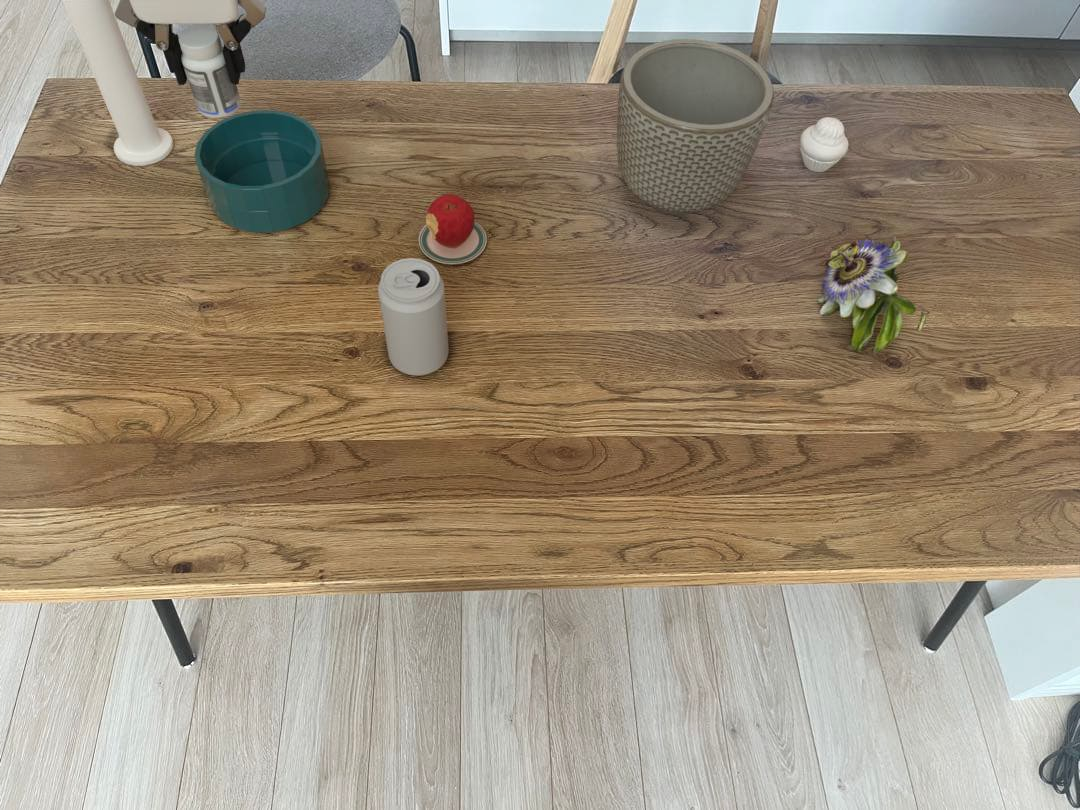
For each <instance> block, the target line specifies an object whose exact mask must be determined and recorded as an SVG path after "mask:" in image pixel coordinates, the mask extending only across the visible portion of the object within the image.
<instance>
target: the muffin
mask: <svg viewBox="0 0 1080 810" xmlns="http://www.w3.org/2000/svg"><path fill="white" fill-rule="evenodd" d="M799 148H800V149H799V150H800V155H801V158H802V161H803V164H804V166H805V168H806V169H808V170H809V171H810V172H814V173H823V172H826V171H828V170H829V169H831V168H832V167H833V166H834V165H836V164H837V163H838V162H839V161H840V160H841V159H842V158H843V157H844V156H845V155H846V154H847V152H848V149H849V140H848V137H846V135H845V127H844V124H843V122H842V121H840V119H838V118H836V117H832V116H829V117H828V116H825V117H822V118H820V119H819V120H818V121H816V124H813V125H810V126H808V127H807V128H806V129H804V130H803V131H802V133H801V135H800V139H799Z"/></svg>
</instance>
